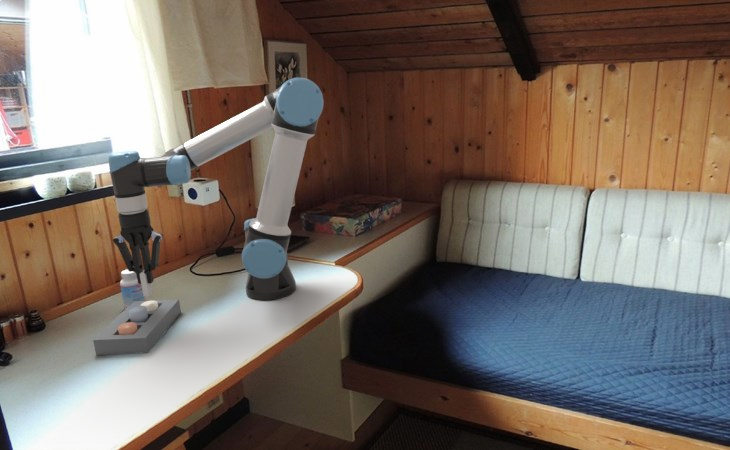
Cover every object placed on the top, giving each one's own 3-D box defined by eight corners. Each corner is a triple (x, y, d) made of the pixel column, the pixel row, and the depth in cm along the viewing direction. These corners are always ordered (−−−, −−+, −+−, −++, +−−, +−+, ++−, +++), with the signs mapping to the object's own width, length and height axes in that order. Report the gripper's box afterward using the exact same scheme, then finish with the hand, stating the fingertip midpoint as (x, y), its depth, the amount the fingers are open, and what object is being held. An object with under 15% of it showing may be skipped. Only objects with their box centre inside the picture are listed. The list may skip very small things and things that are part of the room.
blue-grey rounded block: (151, 319, 154) (149, 305, 153) (145, 326, 149) (142, 312, 148) (135, 320, 154) (132, 306, 153) (128, 327, 150) (125, 313, 149)
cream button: (161, 313, 161) (159, 300, 160) (156, 320, 157) (153, 306, 156) (146, 314, 161) (144, 300, 160) (140, 320, 157) (137, 307, 156)
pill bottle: (139, 311, 166) (132, 274, 163) (120, 310, 167) (113, 274, 164) (150, 303, 172) (144, 267, 169) (132, 302, 173) (126, 267, 170)
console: (181, 312, 164) (179, 299, 163) (148, 352, 141) (145, 337, 139) (136, 314, 164) (133, 301, 163) (96, 354, 141) (93, 340, 140)
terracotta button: (141, 336, 147) (139, 321, 146) (134, 344, 143) (132, 329, 142) (125, 336, 148) (122, 322, 146) (117, 344, 143) (114, 330, 142)
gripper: (162, 205, 154) (176, 287, 160) (115, 208, 155) (130, 290, 161) (151, 212, 147) (166, 298, 153) (102, 215, 147) (118, 300, 154)
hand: (148, 294), depth 157 cm, fingers closed
